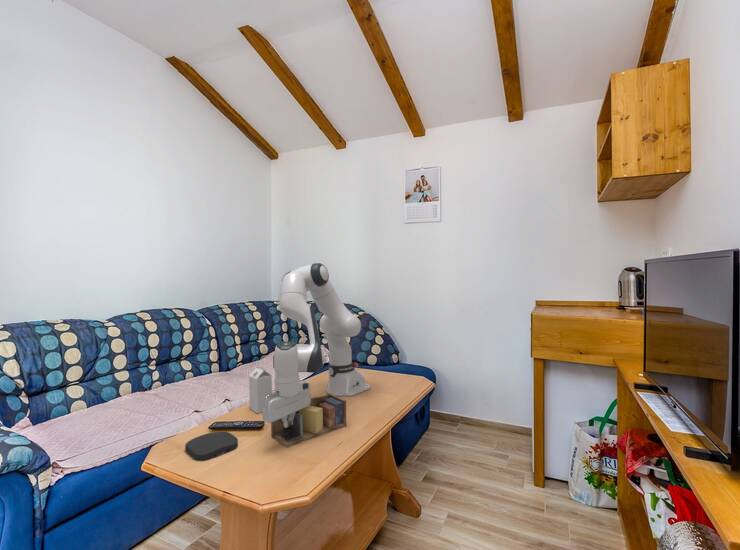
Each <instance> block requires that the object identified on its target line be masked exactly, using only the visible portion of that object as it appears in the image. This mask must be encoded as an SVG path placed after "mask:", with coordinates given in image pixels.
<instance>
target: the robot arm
mask: <svg viewBox="0 0 740 550" xmlns="http://www.w3.org/2000/svg"><path fill="white" fill-rule="evenodd" d="M329 276H330V274H329V270H328V268H327V267H326V266H325V265H324V264H322V263H320V262H316V263H312V264H307V265H303V266H300V267H298V268H296V269H294V270H290V271H287V272H286V273H285V274H283V276H282V279H281V283H280V289H279V298H278V299H279V300H278V302H279V303H278V305H279V310H280V312H281V314H282V315H283V316H284V317H286V318H287V319H290V320H292V321H296V322H298V323H300V324H303V325H304V326H306V329H307V332H308V338H309V345H308V346H307V345H306V346H298V345H297V343H296V342H295V341H292V340H291V341H290V340H289V341H288V340H286V341H281V342H280V343H277V344H276V345H275V348H274V354H273V355H272V364H273V365H272V367H273V368H272V369H274V370H273V371H274V373H275V375H274V392H272V394H269V395H267V397H266V398H265V399H264V405H263V412H262V414H261V415H262V416H261V417H262V420H263V421H264V422H265V423H269V424H271V422H274V421H276V420H278V419H282V421H283V423H284V427H286V428H287V427H289V426H291V425H293V419H294V416H295V412H296V411H299V410H301V409H303V408H306V407H308V406H309V405H310V403H311V399H312V393H311V389H310V388H311V383H310V382H308V381H305V380H301V379H300V375H299V373H312V374H313V373H314V374H315V373H318V372H319V371H321V370H322V369H323V367H324V364H325V355H324V352H323V349H322V346H321V339H320V335H319V334H320V333H319V328H318V323H317V322H318V321H317V319H316V318H317V317H316V313H315V310H314V308H312V307H310V305H309V304H308V302H307V301H308V300H307V292H309V293H310V295H311V297H312V298H313V301H314V303H315V304H316V307H317V308H318V310H319V311H320V313H322V316H321V318H320V320H319V327H320V329H321V330H322V332H323V334H324V335H325V339H326V342H327V345H328V355H329V357H328V358H329V360H328V361H329V363H328V375H329V376H328V384H327V388H326V394H332V395H334V396H337V397H342V396H348V397H353V396H356V395H358V394H360V393H362V392H365V391H367V390H369V389H371V386H370V385H369V383H366V378H365V376H364V375H363V374H362V373H361V372H360V371H358V370H357V369H355V368H358V367H359V363H358V362H352V359H353V358H352V346H351V344H350V343H349V342H348V340H347V338H351V337H352V338H353V337H356V336H357V335H358V334H360V332H361V329H362V323H361V320H360V319H359V318H358V317H356V316H355V315H354V314H353V313H352V312H351V310H349V309H348V308H347V307H346V305H345V304H344V303H343V301H342V300H341V299H340V297H339V296H338V295H339V294H338V293H337V292H336V290H335V289H336V288H334V286H333V284H332V282H331V280H330V278H329ZM288 415H289V418H288ZM286 418H288V420H287V419H286Z"/></svg>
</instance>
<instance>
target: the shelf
mask: <svg viewBox="0 0 740 550" xmlns="http://www.w3.org/2000/svg"><path fill="white" fill-rule="evenodd" d="M309 406H314V407H319V408H322V409H323V429H322V430H321V431H319V432H318V433H313V432H308V431H304V430H303V437H302V438H299V439H296V440H293V441H290V442H287V441H286V440H284V439H283V438H281V437H280V436H278V435H277V433H279V432H282V431H286V430H289V429H290V426H289V427H287V428H286V427H284V423H283V421H282V419H278V420H276V421H274V422H271V423H270V424H271V428H270V429H271V431H270V432H271V438H272V439H274V440H275V441H276V442H277V443H279V444H280V445H282V446H283V447H284V448H286V449H287V448H289V447H293V446H295V445H298V444H299V443H303V442H305V441H309V440H311V439H314V438H316V437H319V436H322V435H326V434H328V433H330V432H333V431H336V430H339V429H342V428H345V427H347V401H346V399H343V398H340V396H335V395H332V394H328V393H326V394H323V395H320V396H317V397H313V398H312V397H311V403H310V405H309ZM296 412H298V413H299V411H296ZM288 418H289V415H288ZM288 418H286V419H287V420H288Z"/></svg>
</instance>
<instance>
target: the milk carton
mask: <svg viewBox="0 0 740 550" xmlns="http://www.w3.org/2000/svg"><path fill="white" fill-rule="evenodd" d="M272 380H273V379H272V375H271V374H270V373H269V372H268V371H266V370H265V367H264V366H260V365H255V368H254V369H253V371H251V372H250V374H249V375H248V381H249V382H248V386H249V388H248V389H249V410H250V411H252V412H254V413H256V414H261V413H263V405H264V399H265V398H266V397H267V395H269V394H272V393H273V387H272V386H273V383H272Z"/></svg>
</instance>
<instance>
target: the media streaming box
mask: <svg viewBox="0 0 740 550" xmlns="http://www.w3.org/2000/svg"><path fill="white" fill-rule="evenodd" d="M238 446H239V441H238V438H237V437H236V436H235V435H234V434H232V433H231V432H228V431H213V432H209V433H205V434H202V435H200V436H199V435H198V436H196V437H194V438H192V439H190V440H188V441H187V442H186V443H185V445H184V448H185V452H186V454H187V455H188V456H190V457H191V458H192V459H194V460H195V461H197V462H198V461H200V462H202V461H203V462H204V461H208V460H211V459H214V458H216V457H220V456H222V455H224V454H227V453H229V452H233V451H235V450H236V449H237V448H238Z"/></svg>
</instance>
